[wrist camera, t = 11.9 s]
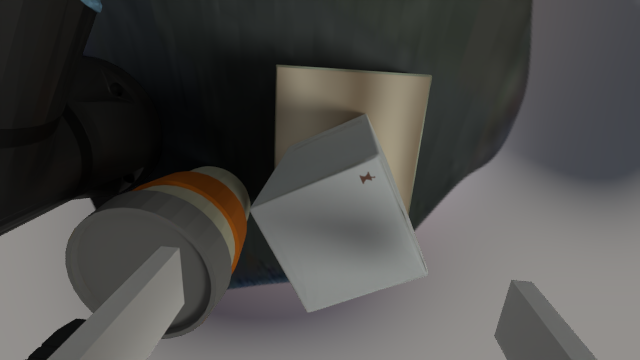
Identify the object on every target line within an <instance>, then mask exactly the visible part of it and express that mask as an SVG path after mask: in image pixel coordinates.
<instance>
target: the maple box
mask: <svg viewBox="0 0 640 360" xmlns="http://www.w3.org/2000/svg"><path fill="white" fill-rule="evenodd" d="M431 78H432V75H424V74H409V73H394V72H380V71H365V70H350V69H335V68H320V67H306V66H291V65H276V98H275V157H274V170H275V168H276V167H277V165H278V164H279V162H280V161H281V159H282V157H283V156H284V154H285V153H286V151H287V149H288V148H289V147H290V146H292V145H294V144H296V143H299V142H301V141H303V140H306V139H308V138H310V137H313V136H315V135H317V134H320V133H322V132H324V131H327V130H329V129H331V128H334V127H336V126H338V125H341V124H343V123H345V122H348V121H350V120H352V119H355V118H357V117H359V116H361V115H364V114H367V115H368V118H369V120H370V122H371V125H372V127H373V129H374V131H375V133H376V136H377V138H378V140H379V142H380V145H381V147H382V150H383V152H384V154H385V157H386V159H387V162H388V164H389V167H390V169H391V172H392V175H393V177H394V180H395V182H396V185H397V188H398V190H399V193H400V195H401V198H402V201H403V203H404V206H405V209H406V211H407V214H408V215H409V209H410V203H411V197H412V191H413V185H414V179H415V173H416V167H417V162H418V156H419V150H420V144H421V138H422V132H423V126H424V120H425V114H426V108H427V102H428V96H429V90H430V84H431Z"/></svg>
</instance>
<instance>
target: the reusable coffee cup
mask: <svg viewBox="0 0 640 360" xmlns="http://www.w3.org/2000/svg"><path fill="white" fill-rule="evenodd" d="M249 212H250V199H249V195H248V192H247V190H246V188H245V186H244V185H243V183H242V182H241V181H240V180H239V179H238V178H237V177H236V176H235V175H233V174H232V173H230V172H229V171H226V170H224V169H222V168H218V167H212V166H205V167H199V168H196V169H194V170H191V171H184V172H176V173H173V174H170V175H167V176H164V177H162V178H159V179H156V180H154V181H151V182H148V183H145V184H143V185H140V186H138V187H137V188H135V189H133V190H132V191H129V192H126V193H123V194H120V195H117V196H115V197H114V198H112V199H110V200H109V201H107V202H105V203H104V204H103V205H102V206H100V207H99V208H98V209H97V210H95V211H94V212H93V213H91V214H90V215H89V216H88V217H86V218H85V219H84V220H83V221H82V222H81V223H80V224H79V225H78V226H77V227H76V228H75V229H74V231H73V233H72V234H71V236H70V238H69V240H68V244H67V248H66V268H67V273H68V277H69V279H70V282H71V284H72V286H73V288H74V290H75V292H76V293H77V295H78V296H79V298H80V299H81V300H82V302H83V303H84V304H85V305H86V306H87V307H88V308H89V309H90V310H91V312H93V313H94V312H95V311H96V310H97V309H98V308H99V307H100V306H101V305H102V304H103V303H104V302H105V301H106V300H107V299H108V298H109V297H110V296H111V295H112V294H113V293H114V292H115V291H116V290H117V289H118V288H119V287H120V286H121V285H122V284H123V283H124V282H125V281H126V280H127V279H128V278H129V277H130V276H131V275H132V274H133V273H134V272H135V271H136V270H137V269H138V268H140V267H141V266H142V265H143V264H144V263H145V262H146V261H147V260H148V259H149V258H150V257H151V256H152V255H153V254H154V253H155V252H156V251H157V250H158V249H159V248H160V247H161V246H165V247H176V248H179V249H180V260H181V270H182V281H183V292H184V305H183V306H182V308H181V309H180V311H179V312H178V314H177V315H176V317H175V318H174V320H173V321H172V323H171V324H170V326H169V327H168V329H167V330H166V332H165V333H164V335H163V336H162V338H161V339H167V338H173V337H177V336H182V335H184V334H186V333H189V332H191V331H193V330H194V329H196V328H197V327H198V326H200V325H201V324H202V323H203V322H204V321H205V319H206V318H207V317H208V316H209V315H210V313H211V312H212V310H213V309H214V307H215V306H216V305H217V304H218V302H219V301H220V299H221V298H222V297H223V295H224V294H225V292H226V290H227V288H228V285H229V283H230V278H231V274H232V273H233V271H234V269H235V267H236V265H237V262H238V259H239V256H240V253H241V249H242V246H243V243H244V240H245V236H246V231H247V219H248V216H249Z"/></svg>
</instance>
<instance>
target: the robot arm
mask: <svg viewBox="0 0 640 360" xmlns="http://www.w3.org/2000/svg"><path fill="white" fill-rule="evenodd" d="M101 9H102V4H101V2H100V0H0V236H1V235H3V234H5V233H7V232H9V231H11V230H13V229H15V228H17V227H19V226H21V225H23V224H25V223H27V222H29V221H31V220H33V219H35V218H37V217H39V216H41V215H42V214H45V213H46V212H48V211H50V210H52V209H54V208H56V207H58V206H60V205H62V204H64V203H66V202H68V201H70V200H74V199H83V198H92V197H102V196H110V195H114V194H118V193H121V192H124V191H126V190H128V189H130V188H131V187H133V186H135V185H137V184H138V183H140V182H141V181H143V180H144V179H145V178H147V177H148V176H149V175H150V173H151V172H152V171H153V169H154V168H155V166H156V164H157V162H158V160H159V157H160V154H161V149H162V130H161V124H160V120H159V117H158V114H157V111H156V109H155V107H154V105H153V103H152V101H151V99H150V98H149V96H148V95H147V93H146V92H145V91H144V89H143V88H142V87H141V86H140V84H139V83H138V82H137V81H136V80H135V79H134V78H132V77H131V76H130V75H129V74H128V73H126V72H125V71H124V70H122V69H121V68H119V67H117V66H115V65H114V64H112V63H109V62H107V61H104V60H101V59H98V58H94V57H87V56H82V54H83V51H84V48H85V45H86V43H87V40H88V37H89V34H90V31H91V28H92V26H93V23H94V20H95V17H96V14H97V12H99V13H100V12H101ZM183 305H184V292H183V281H182V270H181V260H180V249H179V248H176V247H165V246H161V247H160V248H159V249H158V250H157V251H156V252H155V253H154V254H153V255H152V256H151V257H150V258H149V259H148V260H147V261H146V262H145V263H144V264H143V265H142V266H141V267H140V268H138V269H137V270H136V271H135V272H134V273H133V274H132V275H131V276H130V277H129V278H128V279H127V280H126V281H125V282H124V283H123V284H122V285H121V286H120V287H119V288H118V289H117V290H116V291H115V292H114V293H113V294H112V295H111V296H110V297H109V298H108V299H107V300H106V301H105V302H104V303H103V304H102V305H101V306H100V307H99V308H98V309H97V310H96V311H95V312H94V313H93V314H92V315H91V316H90V317H89V318H88V319H87V320H84V319H75V320H73V321H71V322H70V323H68V324H66V325H65V326H63V327H61V328H60V329H58V330H57V331H56V332H54V333H53V334H52V335H51V336H50V337H49V338H48V339H47V340H46V341H45V342H44V343H43V344H42V346H41V347H39V348H37V349H36V350H35V351H34V352H33V353H32V354H31V355H30V356H29V358H28V359H27V360H147V359H148V357H149V355H150V354H151V353H152V351H153V350H154V348H155V347H156V345H157V344H158V342H159V341H160V339H161V338H162V336H163V335H164V333H165V332H166V330H167V329H168V327H169V326H170V324H171V323H172V321H173V320H174V318H175V317H176V315H177V314H178V312H179V311H180V309H181V308H182V306H183ZM494 336H495V338H496V340H497V342H498V344H499V345H500V347H501V349H502V350H503V353H504V354H505V357H506V358H507V360H597V359H596V358H595V357H594V355H593V354H592V353H591V352H590V351H589V349H588V348H587V347H586V346H585V345H584V343H583V342H582V341H581V340H580V339H579V337H578V336H577V335H576V334H575V333H574V331H573V330H572V329H571V328H570V327H569V326H568V324H567V323H566V322H565V321H564V320H563V318H562V317H561V316H560V315H559V314H558V312H557V311H556V310H555V309H554V308H553V306H552V305H551V304H550V303H549V302H548V300H546V298H545V297H544V296H543V295H542V293H541V292H540V291H539V290H538V289H537V287H536V286H535V285H534V284H533V283H532V282H526V281H517V280H511V283H510V287H509V290H508V293H507V296H506V300H505V303H504V306H503V310H502V313H501V316H500V319H499V322H498V326H497V329H496V332H495V335H494Z"/></svg>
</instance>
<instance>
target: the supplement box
mask: <svg viewBox="0 0 640 360" xmlns="http://www.w3.org/2000/svg"><path fill="white" fill-rule="evenodd" d="M250 212H251V214H252V216H253V217H254V219H255V221H256V223H257V224H258V226H259V228H260V230H261V232H262V233H263V235H264V237H265V239H266V241H267V242H268V244H269V246H270V248H271V249H272V251H273V253H274V255H275V256H276V258H277V260H278V262H279V264H280V265H281V267H282V269H283V271H284V272H285V274H286V276H287V278H288V279H289V281H290V283H291V285H292V286H293V288H294V290H295V292H296V294H297V295H298V297H299V299H300V301H301V302H302V304H303V306H304V308H305V310H306V311H307V312H312V311H315V310H319V309H322V308H325V307H328V306H331V305H335V304H338V303H341V302H343V301H347V300H350V299H353V298H356V297H359V296H363V295H366V294H369V293H372V292H375V291H377V290H381V289H385V288H388V287H391V286H395V285H399V284H402V283H405V282H409V281H412V280H415V279H418V278H422V277H425V276H427V275H428V270H427V266H426V263H425V260H424V258H423V255H422V252H421V249H420V246H419V244H418V241H417V238H416V235H415V233H414V230H413V227H412V225H411V222H410V219H409V217H408V214H407V211H406V209H405V206H404V203H403V201H402V198H401V195H400V193H399V190H398V188H397V185H396V182H395V180H394V177H393V175H392V172H391V169H390V167H389V164H388V162H387V159H386V157H385V154H384V152H383V150H382V147H381V145H380V142H379V140H378V138H377V136H376V133H375V131H374V129H373V127H372V125H371V122H370V120H369V118H368V115H367V114H364V115H361V116H359V117H357V118H355V119H352V120H350V121H348V122H345V123H343V124H341V125H338V126H336V127H334V128H331V129H329V130H327V131H324V132H322V133H320V134H317V135H315V136H313V137H310V138H308V139H306V140H303V141H301V142H299V143H296V144H294V145H292V146H290V147H289V148H288V149H287V151H286V153H285V154H284V156H283V157H282V159H281V161H280V162H279V164H278V165H277V167H276V168H275V170H274V172H273V173H272V175H271V176H270V178H269V179H268V181H267V183H266V184H265V186H264V187H263V189H262V190H261V192H260V194H259V195H258V197H257V198H256V200H255V201H254V203H253V205H252V206H251V208H250Z"/></svg>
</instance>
